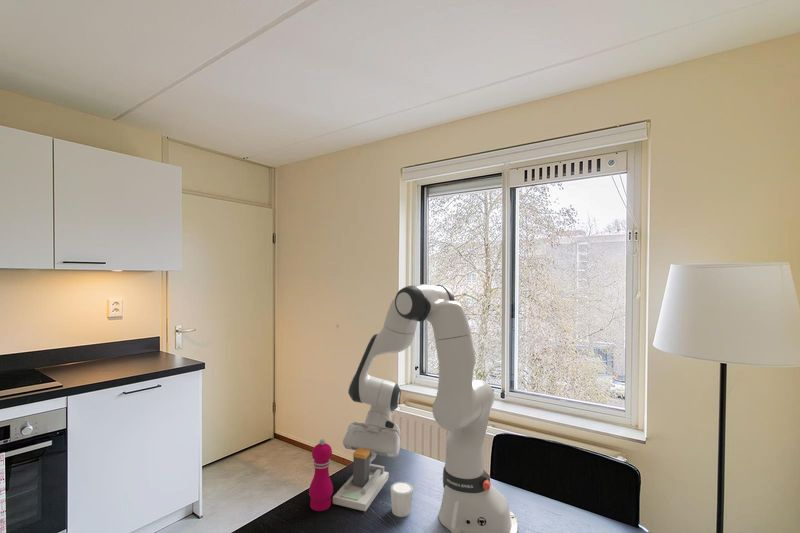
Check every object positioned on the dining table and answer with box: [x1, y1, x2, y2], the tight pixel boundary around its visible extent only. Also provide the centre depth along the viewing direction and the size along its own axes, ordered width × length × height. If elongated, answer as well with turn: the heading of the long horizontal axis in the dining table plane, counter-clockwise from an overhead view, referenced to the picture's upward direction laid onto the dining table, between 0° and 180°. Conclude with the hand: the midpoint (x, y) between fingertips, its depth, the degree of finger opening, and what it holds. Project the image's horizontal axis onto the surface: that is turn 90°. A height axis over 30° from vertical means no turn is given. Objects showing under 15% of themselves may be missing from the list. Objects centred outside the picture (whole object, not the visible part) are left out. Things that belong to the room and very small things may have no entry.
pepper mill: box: [308, 438, 334, 512], centre depth 117 cm, size 7×7×20 cm
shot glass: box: [390, 481, 414, 518], centre depth 115 cm, size 7×7×7 cm
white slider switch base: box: [332, 463, 390, 512], centre depth 125 cm, size 11×20×4 cm, turn 161°
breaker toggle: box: [352, 448, 371, 487], centre depth 126 cm, size 4×4×10 cm
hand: (364, 465), depth 128 cm, fingers closed, pressing on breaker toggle
